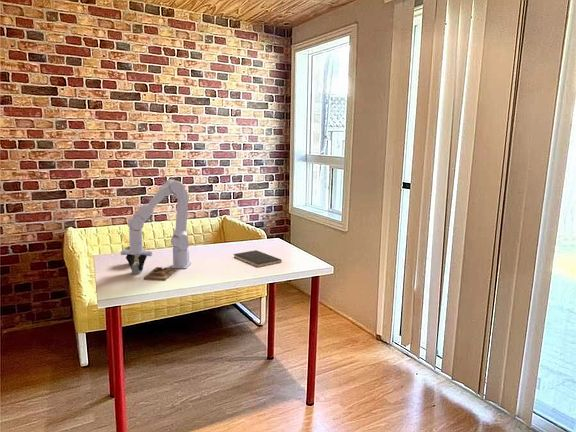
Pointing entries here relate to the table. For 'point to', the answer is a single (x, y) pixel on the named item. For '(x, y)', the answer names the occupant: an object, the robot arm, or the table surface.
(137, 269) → the servo block
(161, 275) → the chassis board
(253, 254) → the hardcover book
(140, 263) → the robot arm
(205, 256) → the table surface
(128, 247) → the flower pot
